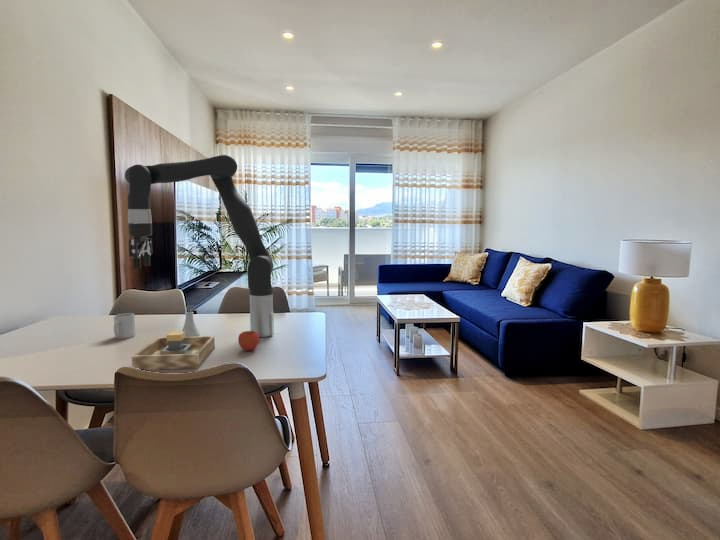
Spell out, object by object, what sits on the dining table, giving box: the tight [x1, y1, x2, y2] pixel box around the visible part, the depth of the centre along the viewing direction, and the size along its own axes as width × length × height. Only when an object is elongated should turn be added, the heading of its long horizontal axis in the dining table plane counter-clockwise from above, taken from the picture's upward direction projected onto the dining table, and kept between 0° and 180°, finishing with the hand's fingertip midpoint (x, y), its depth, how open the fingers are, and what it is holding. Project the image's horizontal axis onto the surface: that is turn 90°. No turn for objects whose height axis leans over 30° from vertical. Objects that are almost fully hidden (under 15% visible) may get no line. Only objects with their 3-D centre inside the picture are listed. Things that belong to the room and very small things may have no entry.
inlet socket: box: [160, 344, 193, 355], centre depth 141 cm, size 8×8×3 cm
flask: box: [181, 311, 201, 337], centre depth 168 cm, size 7×7×10 cm
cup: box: [113, 312, 136, 340], centre depth 166 cm, size 7×10×9 cm
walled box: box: [131, 335, 216, 371], centre depth 141 cm, size 20×22×4 cm
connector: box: [166, 330, 185, 350], centre depth 141 cm, size 5×5×8 cm
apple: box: [237, 329, 260, 352], centre depth 151 cm, size 7×7×8 cm
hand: (142, 267), depth 149 cm, fingers open, 8 cm apart
